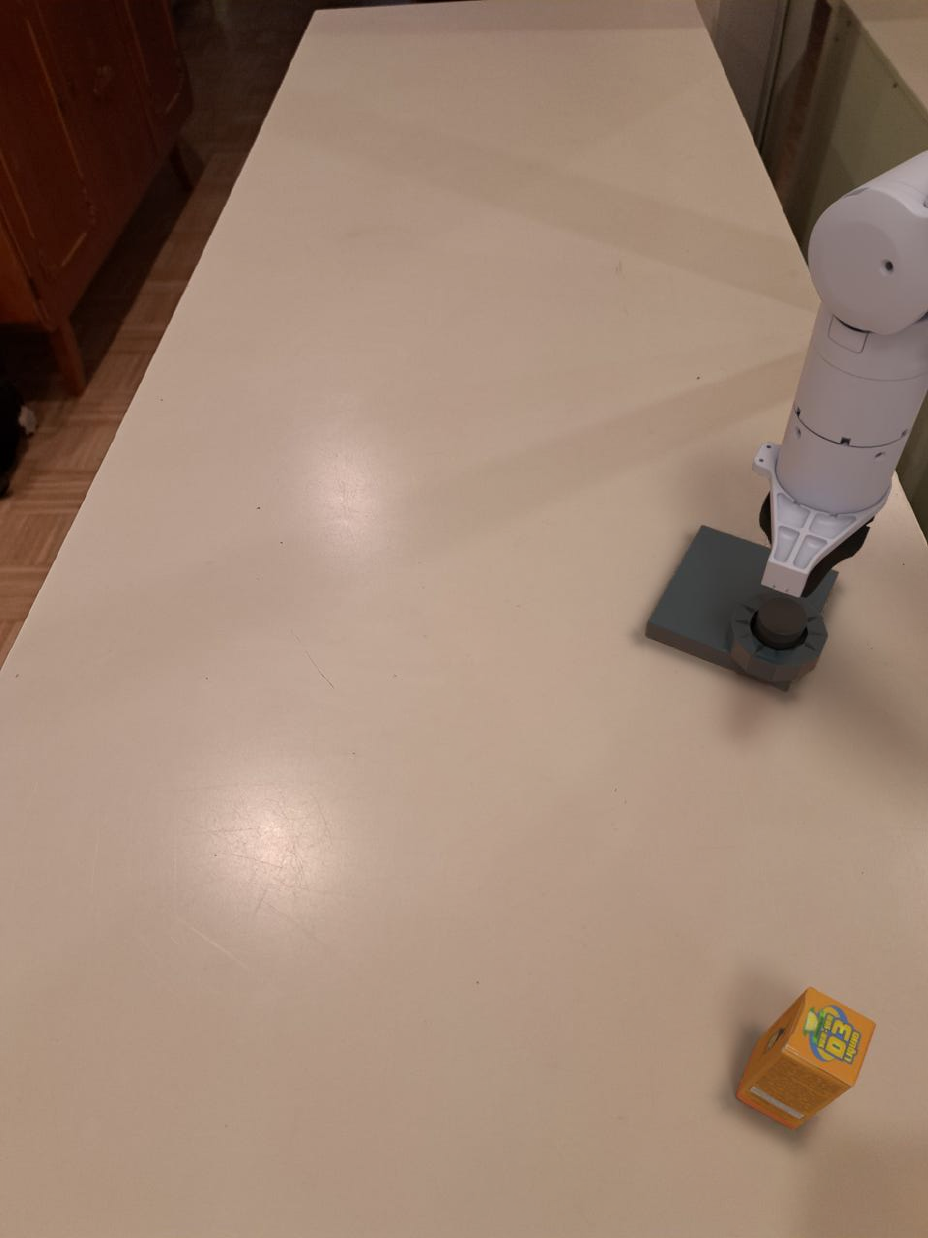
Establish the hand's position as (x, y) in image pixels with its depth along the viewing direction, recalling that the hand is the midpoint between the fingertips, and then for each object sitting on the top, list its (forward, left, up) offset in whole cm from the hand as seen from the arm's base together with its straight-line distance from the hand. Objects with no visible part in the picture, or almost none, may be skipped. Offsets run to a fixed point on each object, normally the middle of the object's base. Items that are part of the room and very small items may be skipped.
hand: (793, 584), depth 58 cm
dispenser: (+3, -3, -8) cm, 9 cm away
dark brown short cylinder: (0, 0, -5) cm, 5 cm away
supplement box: (-9, +25, -8) cm, 28 cm away
